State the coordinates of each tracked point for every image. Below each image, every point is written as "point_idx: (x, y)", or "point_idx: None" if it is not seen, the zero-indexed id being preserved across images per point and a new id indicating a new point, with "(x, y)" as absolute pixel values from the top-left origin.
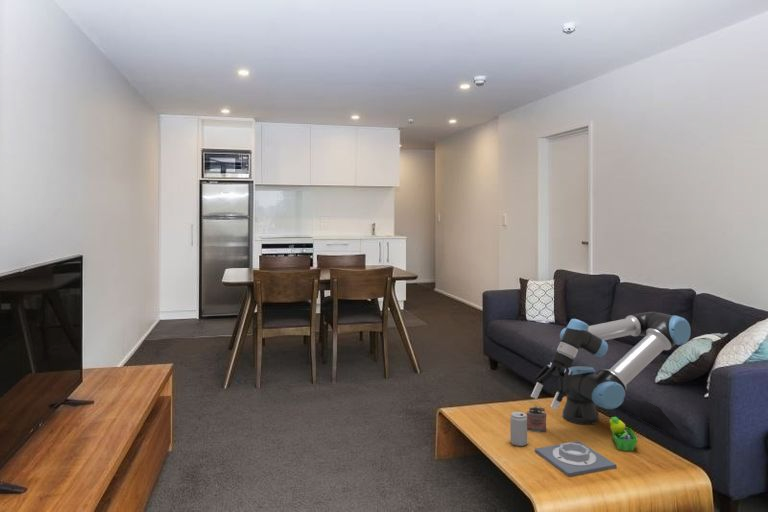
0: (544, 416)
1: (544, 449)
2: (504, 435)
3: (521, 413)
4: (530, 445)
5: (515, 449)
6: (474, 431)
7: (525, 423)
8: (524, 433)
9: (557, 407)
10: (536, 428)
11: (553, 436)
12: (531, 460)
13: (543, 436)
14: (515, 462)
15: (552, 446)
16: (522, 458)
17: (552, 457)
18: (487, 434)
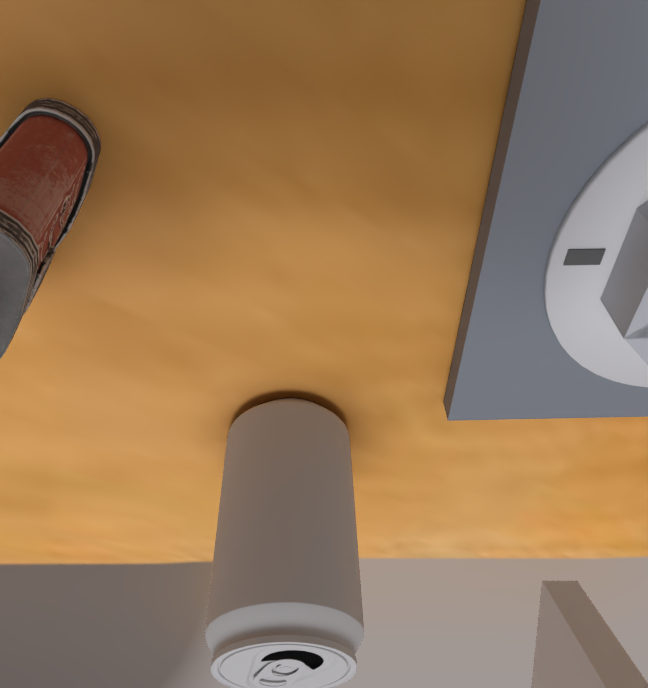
0: (38, 254)
1: (496, 377)
2: (130, 449)
3: (262, 651)
4: (343, 383)
5: (361, 471)
6: (46, 544)
7: (358, 587)
8: (354, 510)
9: (597, 617)
10: (62, 232)
11: (227, 111)
12: (530, 460)
13: (204, 211)
14: (499, 520)
15: (487, 303)
16: (482, 484)
17: (627, 391)
18: (101, 512)
